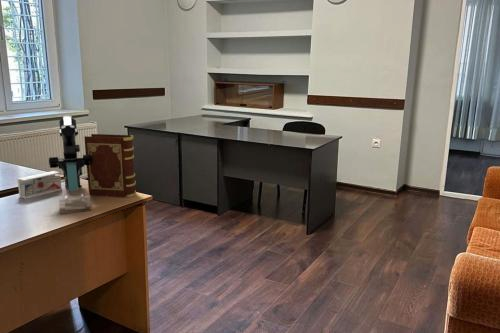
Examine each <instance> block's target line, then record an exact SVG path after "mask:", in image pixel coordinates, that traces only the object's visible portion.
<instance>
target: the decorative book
mask: <svg viewBox="0 0 500 333" xmlns="http://www.w3.org/2000/svg"><path fill="white" fill-rule="evenodd" d="M90 135H91V136H88V135H87V136H86V135H85V136H84V149H85V150H84V151H85V155H89V154H90V155H91V156H92V164H91V163H90V161H88V163H90V164H91V165H86V173H87V186H88V194H89V197H91V196H95V197H114V198H115V197H116V198H133V197H134V196H136V195H137V191H136V185H137V184H136V182H137V181H136V179H135V178H136V173H135V165H134V164H135V163H134V162H135V160H134V158H135V155H134V148H135V147H134V144H133V140H134V135H132V134H128V135H127V134H104V133H102V134H101V133H91V134H90Z"/></svg>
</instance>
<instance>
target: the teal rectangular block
mask: <svg viewBox="0 0 500 333" xmlns="http://www.w3.org/2000/svg"><path fill="white" fill-rule="evenodd" d="M67 176H68V186H69V188H68V191H69V192H75V191H79V187H78V182H77V171H76V163H67Z"/></svg>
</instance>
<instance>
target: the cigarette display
mask: <svg viewBox="0 0 500 333" xmlns="http://www.w3.org/2000/svg"><path fill="white" fill-rule="evenodd" d="M57 174H60V172H59V171H56V170H51V171H48V172H47V171H46V172H42V173H37V174H33V175H28V176H23V177H18V178H16V179H17V185H18V195H19V198H23V199H25V198H26V199H29V198H31V199H32V198H35V197H38V196H42V195H46V194H50V193H54V192H58V191H62V187H63V186H62V181H61V179H62V178H61V175H57Z"/></svg>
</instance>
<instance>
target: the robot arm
mask: <svg viewBox="0 0 500 333" xmlns="http://www.w3.org/2000/svg"><path fill="white" fill-rule="evenodd" d="M58 123H59V137H61V139H62V140H61V141H62V147H63V158H62V157H61V158H59V157H58V156H50V157H49V158H48V164H49V168H50V169H54V168H55V169H56V168H58V169H60V170H61V171H62V172H63V177H64V185H65V186H64V187H65V188H67V189H69V186H68V176H67V163H76V171H77V182H78V188H82V187H83V185H82V184H81V176H83V168H84V167H85V166H87V165H91V164H92V156H91V155H90V154H89V155H86V154H83V155H82V157H78V153H80V152H81V148H80V144H77V143H76V137H77V136H78V135H79V131H78V130H77V128H78V127H77V120H76V119H75V118H73V116H72V115H64V116H62V117H61V118H60V119H59V122H58ZM88 161H90V163H91V164H90V163H88Z"/></svg>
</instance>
